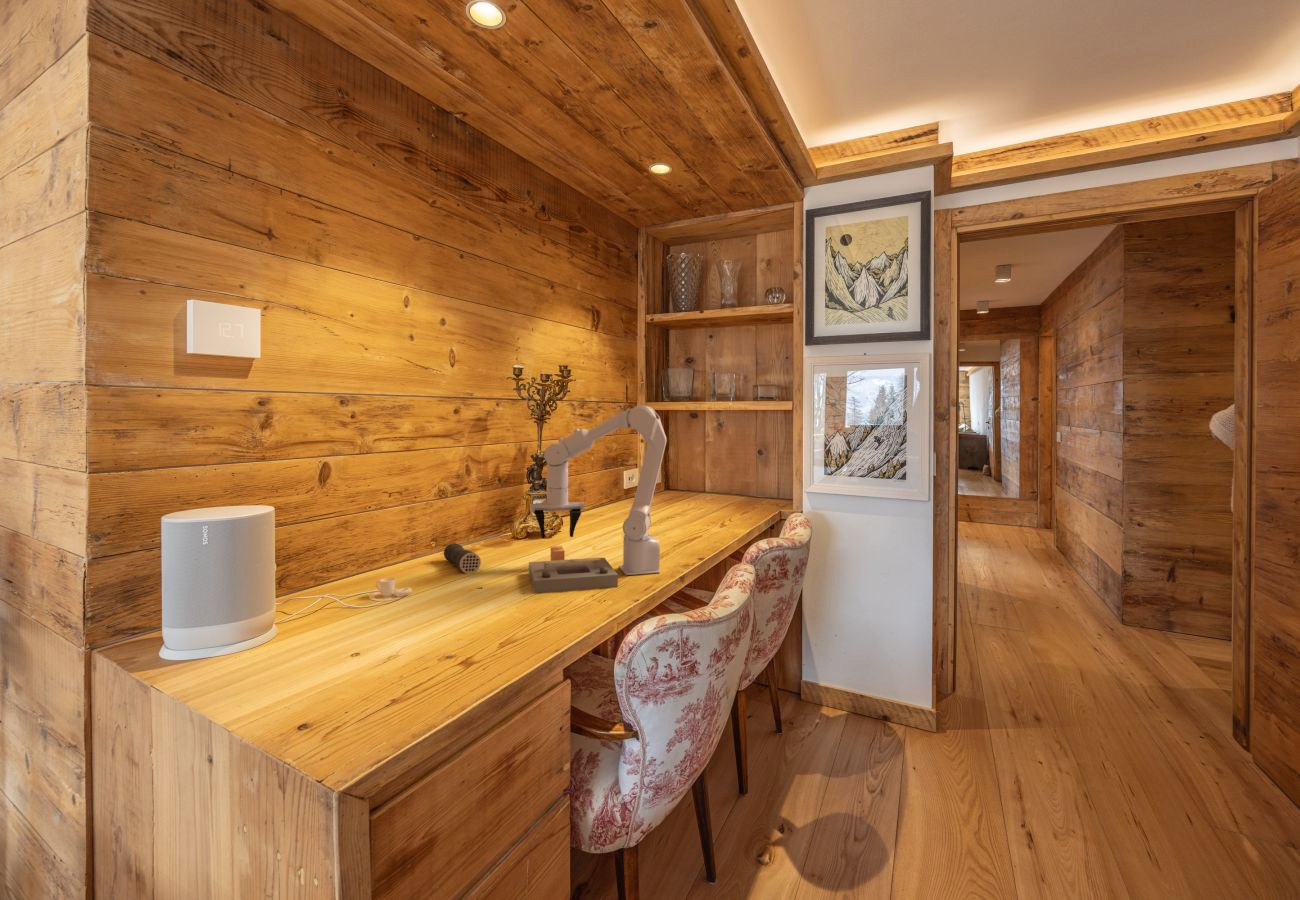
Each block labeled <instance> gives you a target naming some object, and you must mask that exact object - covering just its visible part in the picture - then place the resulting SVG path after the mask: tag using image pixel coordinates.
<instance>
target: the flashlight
mask: <svg viewBox="0 0 1300 900" xmlns="http://www.w3.org/2000/svg"><path fill="white" fill-rule="evenodd" d="M443 555H444V559H445V560H446V561H448V562H449V563H453V564H454V565H455V566H456V567H457V568H458V569H459V570H460V571H461V572H462V573H464V574H467V575H468V574H473V573H476V572H477V571H478V570H479V569H480V567H481V563H482V560H481V557H480V556H479V555H478V554H477V553H475V552H473V551H471V550H468V549H465V548H464V547H463V546H462V545H461V544H459V543H456V542H453V543H450V544H448V545H446V546H445V548H444V550H443Z"/></svg>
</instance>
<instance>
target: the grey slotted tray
mask: <svg viewBox="0 0 1300 900" xmlns="http://www.w3.org/2000/svg"><path fill="white" fill-rule="evenodd" d="M528 574H529V578H530V581H531V582H530V583H531V586H532V589H533V593H534V594H541V593H543V594H544V593H554V592H555V593H556V592H564V591H565V592H567V591H568V592H569V591H578V590H579V591H581V590H595V589H604V588H605V589H606V588H618V586H619V583H618V582H619V577H618V575H619V574H618V573H617V572H616V570H615V569H614V568H613V567H612V565H611V564H610V563H609V561H608V560H607V559H606V557H591V558H573V559H564V560H554V561H551V560H543V561H529V562H528Z"/></svg>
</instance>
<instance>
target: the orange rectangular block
mask: <svg viewBox="0 0 1300 900" xmlns="http://www.w3.org/2000/svg"><path fill="white" fill-rule="evenodd" d="M554 560H565V549H564V547H563V545H562V544H561V545H550V561H554Z"/></svg>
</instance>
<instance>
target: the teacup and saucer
mask: <svg viewBox="0 0 1300 900" xmlns="http://www.w3.org/2000/svg"><path fill="white" fill-rule="evenodd" d="M378 583H379V585H380V587H379V586H378ZM375 587H376V589H377V590H378V591H376V592H373V593H370V595H369V596H368V598H369V599H370V600H371V601H374V602H389V601H395V600H398V599H399V600H400V599H401V598H404V597H406V596H408V595H409V594H411V593H412V588H411V587H403V588H396V578H394V577H385V578H381V579H379V580H377V582H375ZM394 590H395V591H394ZM379 594H381V595H382V597H383V598H386V599H387V598H388V599H387V600H386V599H380V598H376V596H378V595H379ZM392 596H395V597H394V598H390V597H392Z"/></svg>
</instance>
